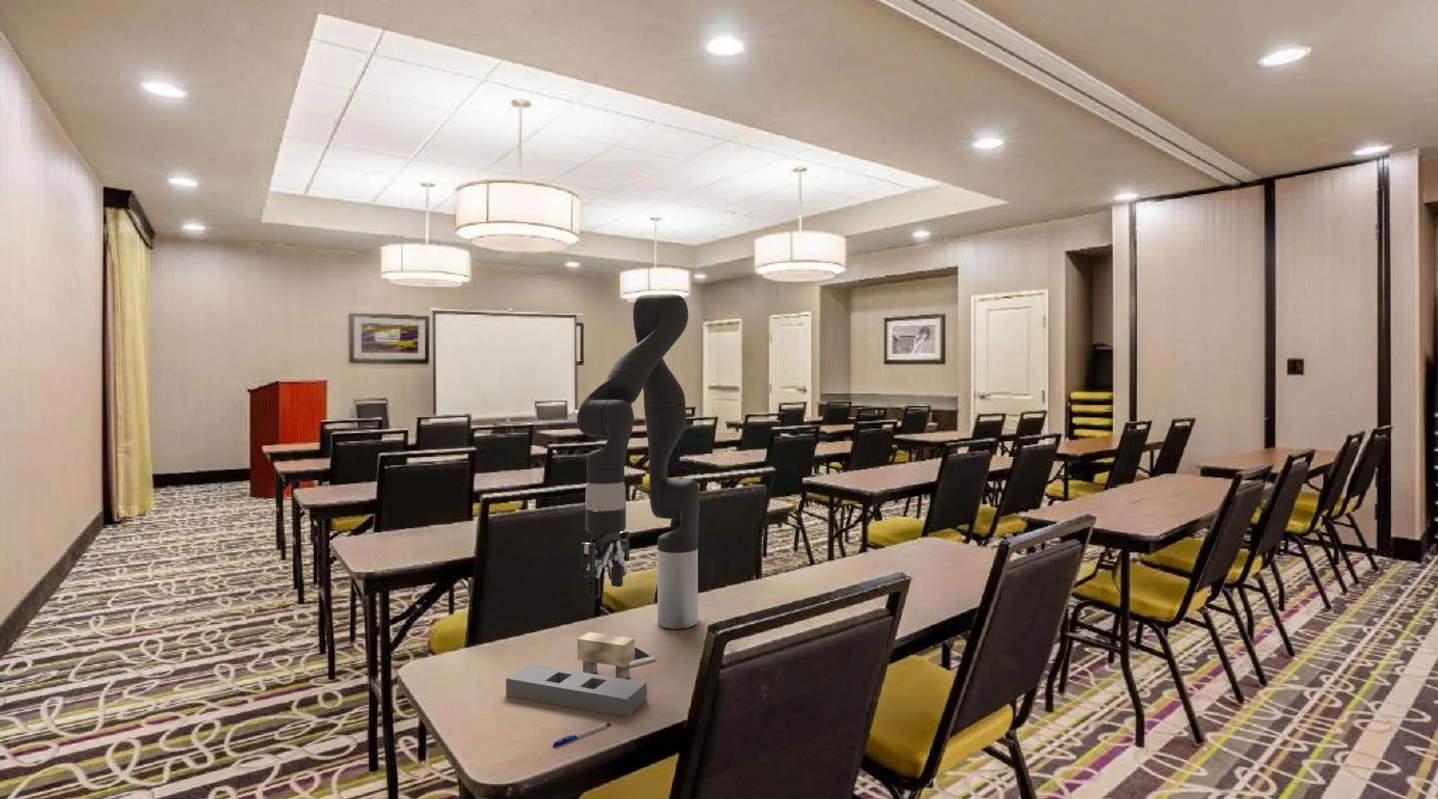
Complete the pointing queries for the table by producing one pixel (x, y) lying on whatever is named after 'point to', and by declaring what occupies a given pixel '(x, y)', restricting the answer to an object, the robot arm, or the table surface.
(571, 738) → the ballpoint pen
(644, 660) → the smartphone
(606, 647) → the tan rectangular block
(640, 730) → the table surface
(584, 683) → the slotted rail
